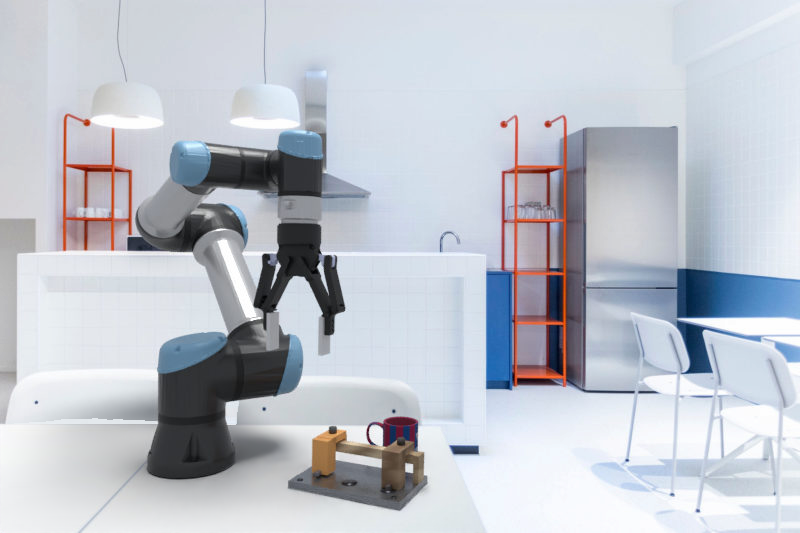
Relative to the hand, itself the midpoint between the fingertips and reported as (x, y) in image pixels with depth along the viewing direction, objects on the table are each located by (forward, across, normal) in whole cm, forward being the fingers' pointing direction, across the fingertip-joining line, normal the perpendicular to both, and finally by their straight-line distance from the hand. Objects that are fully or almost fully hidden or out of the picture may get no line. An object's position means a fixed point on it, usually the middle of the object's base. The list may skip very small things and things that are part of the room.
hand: (297, 351), depth 105 cm
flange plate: (+22, +12, +1) cm, 25 cm away
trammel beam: (+20, +12, +2) cm, 24 cm away
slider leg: (+20, +5, +2) cm, 21 cm away
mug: (+22, +11, +17) cm, 30 cm away
